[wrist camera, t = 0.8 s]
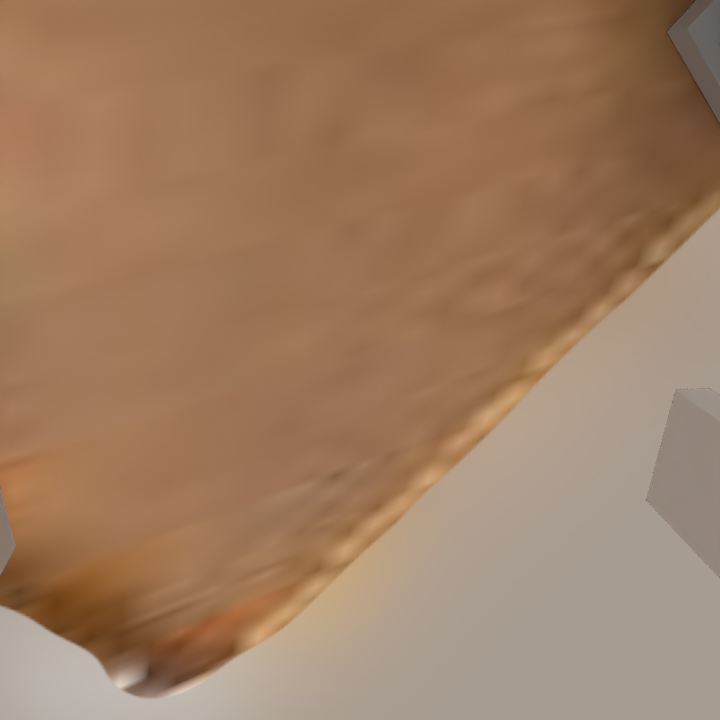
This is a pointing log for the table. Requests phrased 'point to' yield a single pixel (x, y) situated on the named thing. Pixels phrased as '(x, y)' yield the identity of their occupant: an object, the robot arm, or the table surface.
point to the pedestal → (701, 47)
